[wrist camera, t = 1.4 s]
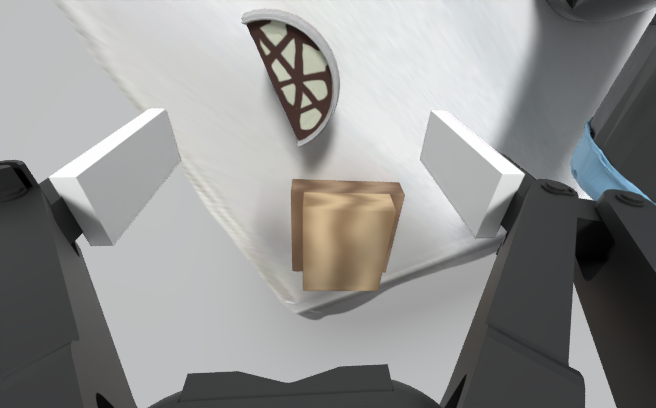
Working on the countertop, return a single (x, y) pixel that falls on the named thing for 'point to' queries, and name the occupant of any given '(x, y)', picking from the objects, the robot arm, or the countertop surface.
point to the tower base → (336, 187)
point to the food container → (297, 68)
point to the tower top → (345, 240)
